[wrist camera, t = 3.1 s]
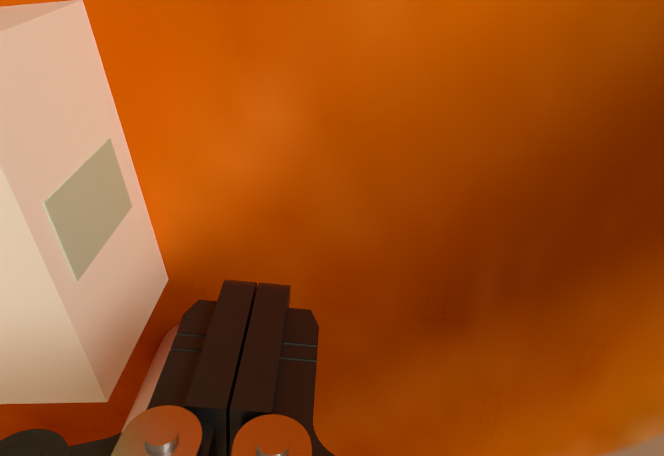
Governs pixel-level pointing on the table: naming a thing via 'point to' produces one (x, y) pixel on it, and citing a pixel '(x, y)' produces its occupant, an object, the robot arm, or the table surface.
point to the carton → (66, 215)
